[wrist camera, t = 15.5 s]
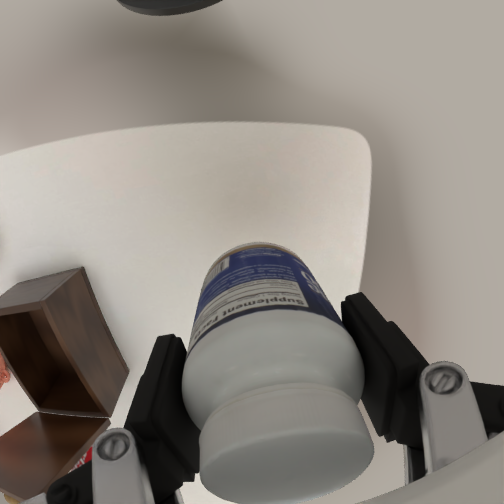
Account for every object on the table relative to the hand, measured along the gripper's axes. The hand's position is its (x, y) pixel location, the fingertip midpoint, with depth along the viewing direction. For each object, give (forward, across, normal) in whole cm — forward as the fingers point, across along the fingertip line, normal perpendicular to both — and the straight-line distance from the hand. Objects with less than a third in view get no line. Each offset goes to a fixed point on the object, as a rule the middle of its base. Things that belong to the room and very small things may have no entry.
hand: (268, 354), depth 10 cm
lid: (+3, +25, +12) cm, 27 cm away
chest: (+19, +24, +7) cm, 32 cm away
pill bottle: (+5, 0, 0) cm, 5 cm away
